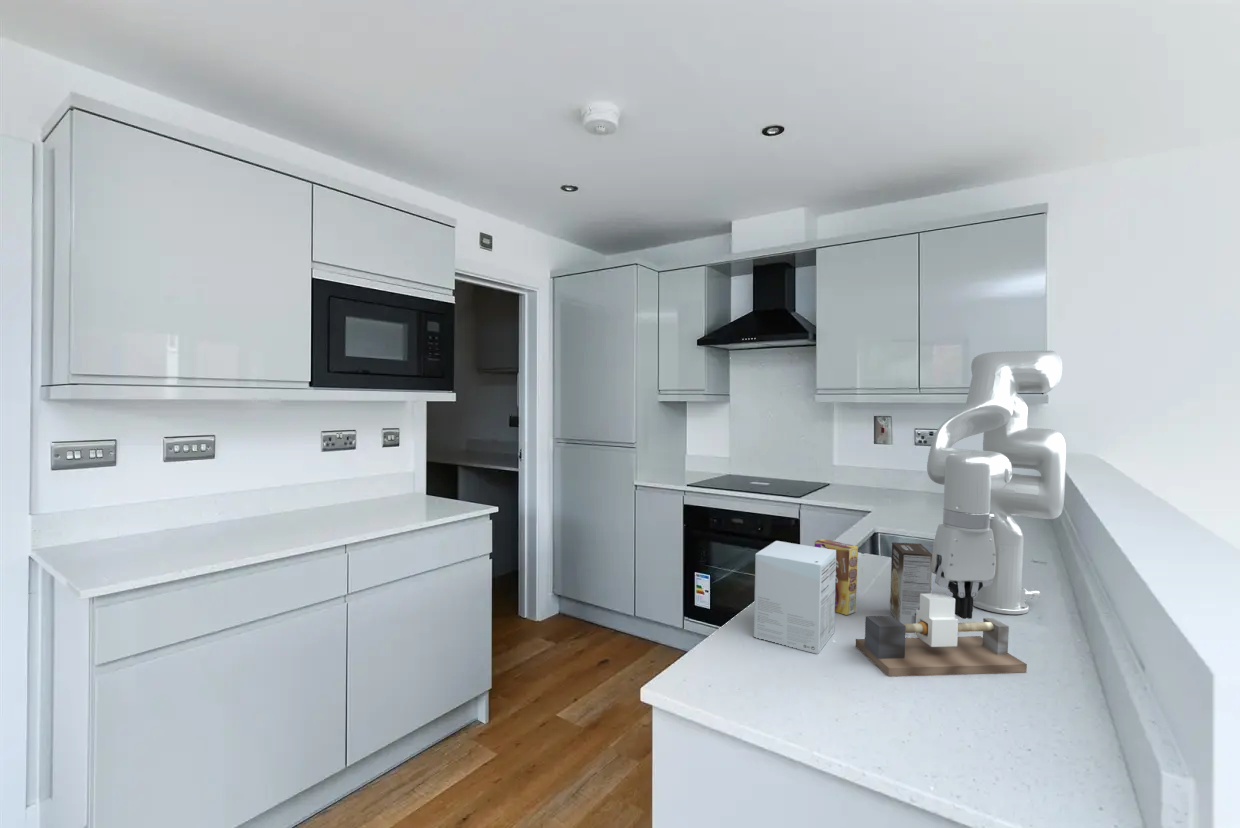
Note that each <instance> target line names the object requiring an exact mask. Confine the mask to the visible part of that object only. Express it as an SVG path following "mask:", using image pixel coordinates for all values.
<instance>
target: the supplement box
mask: <svg viewBox="0 0 1240 828" xmlns="http://www.w3.org/2000/svg"><path fill="white" fill-rule="evenodd" d="M754 557H755V558H754V559H755V561H754V562H755V563H754V565H755V566H754V567H755V568H754V572H755V573H754V607H753V608H754V609H753V635H752V636H754V637H756V638H755V639H757V638H759V639H758V640H761V639H764V640H763V641H765V640H768V641H772V642H775V643H774V644H776V643H779V644H778V645H780V644H782V645H781V646H784V645H786V646H785V647H788V646H789V648H792V647H793V648H792V649H796V648H797V650H800V651H805V652H808V653H813V654H817V655H818V654H820V652H821V651H822V649H823V648H824V647H825V645H826V644H827V643H828V641H829V640H830V638H832V636H833V634H835V615H836V614H835V613H836V612H835V581H836V550H833V549H826V548H820V547H815V546H813V545H806V544H798V543H793V542H792V543H791V542H787V541H780V540H775V541H773V542H771V543H770V544H769V545H767V546H765V547H764V548H762V549H761V550H759V551H757V552H756V553H755V556H754ZM754 637H753V638H754ZM768 641H767V642H768ZM772 642H771V643H772Z"/></svg>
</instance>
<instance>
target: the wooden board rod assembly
mask: <svg viewBox="0 0 1240 828" xmlns="http://www.w3.org/2000/svg"><path fill="white" fill-rule="evenodd" d="M864 620H865V622H864V624H865V625H864V626H865V627H864V630H865V631H864V638H855V647H856V649H858V650H859V652H861V653H862V654H863V655H864V656H865V657H867V659H868V660H870V662H872V663H873V664H874V665H875V666H877V668H878V669H880V670H881V671H882V672H883V673H885V675H887V676H888V677H909V676H910V677H914V676H915V677H916V676H946V675H947V676H948V675H980V674H981V675H982V674H1013V673H1014V674H1018V673H1020V674H1021V673H1027V670H1028V669H1027V668H1028V667H1027V666H1028V665H1027V662H1024V661H1022V660H1021V659H1019V658H1017V657H1015V656H1014V655H1012V654H1010V652H1009V631H1010V630H1009V629H1010V626H1009V625H1007V624H1005V623H1004V622H1002V621H1000V620H998V619H996V618H994V617H983V619H982V620H983V621H982V622H981V621H978V622H977V621H973V622H971V621H970V622H969V621H968V622H958V633H960V632H961V633H962V632H967V633H968V632H982V636H980V635H979V636H977V635H976V636H974V635H973V636H958V639H957V646H947V647H931V646H930V645H928V644H927V643H925V642H924V641H923V640H921V639H920V638H918V637H906V634H912V633H914V634H916V633H920V634H928V623H926V622H918V624H902V623H901V622H899V621H898V620H896V619H895V617H894V616H892V615H890V614H889V615H866V616H865V619H864Z"/></svg>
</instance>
